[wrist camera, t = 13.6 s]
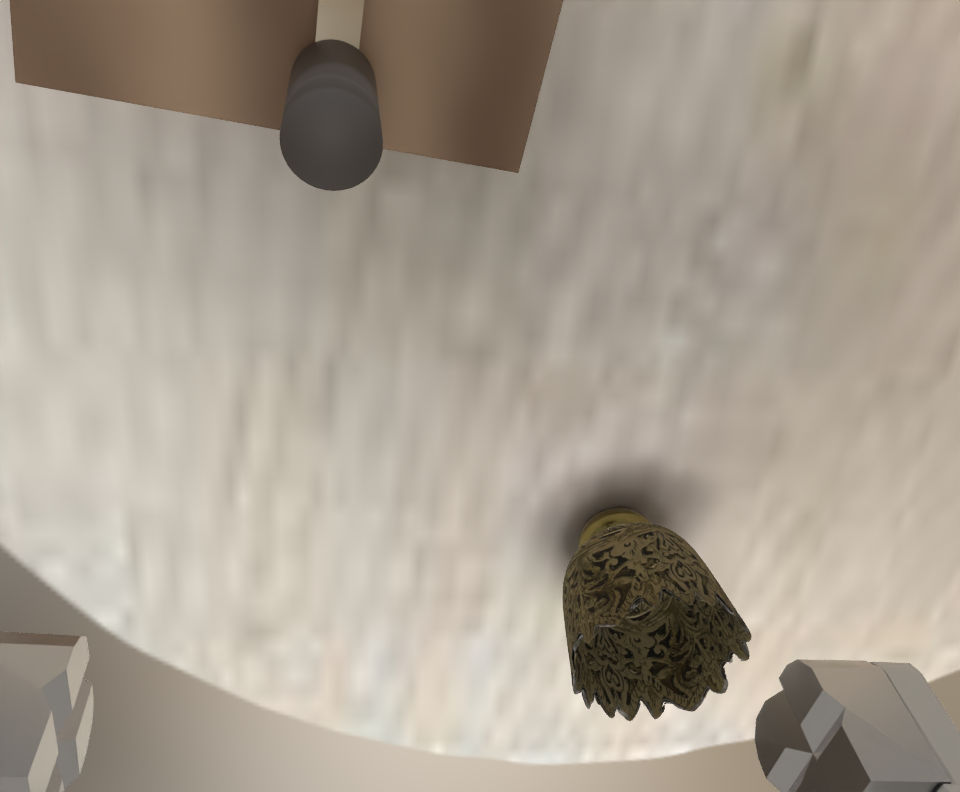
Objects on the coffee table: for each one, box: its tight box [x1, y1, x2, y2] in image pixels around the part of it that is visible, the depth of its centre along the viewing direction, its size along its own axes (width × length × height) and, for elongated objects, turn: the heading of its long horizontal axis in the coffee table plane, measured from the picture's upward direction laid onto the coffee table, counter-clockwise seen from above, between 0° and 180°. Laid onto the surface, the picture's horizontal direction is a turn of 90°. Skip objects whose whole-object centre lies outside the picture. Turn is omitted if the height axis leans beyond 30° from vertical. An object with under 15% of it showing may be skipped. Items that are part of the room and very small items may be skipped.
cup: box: [563, 508, 751, 721], centre depth 37 cm, size 8×7×8 cm
